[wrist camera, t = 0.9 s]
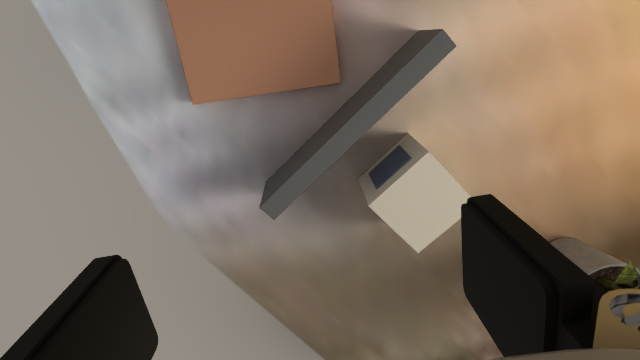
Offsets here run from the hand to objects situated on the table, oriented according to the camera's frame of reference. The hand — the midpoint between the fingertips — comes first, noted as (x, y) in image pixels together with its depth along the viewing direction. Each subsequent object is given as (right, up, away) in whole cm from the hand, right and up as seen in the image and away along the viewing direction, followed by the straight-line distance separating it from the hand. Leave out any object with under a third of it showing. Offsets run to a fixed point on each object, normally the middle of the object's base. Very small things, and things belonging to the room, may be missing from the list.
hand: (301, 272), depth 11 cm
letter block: (+8, +3, +24) cm, 26 cm away
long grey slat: (+3, +8, +22) cm, 23 cm away
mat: (-5, +15, +19) cm, 25 cm away
